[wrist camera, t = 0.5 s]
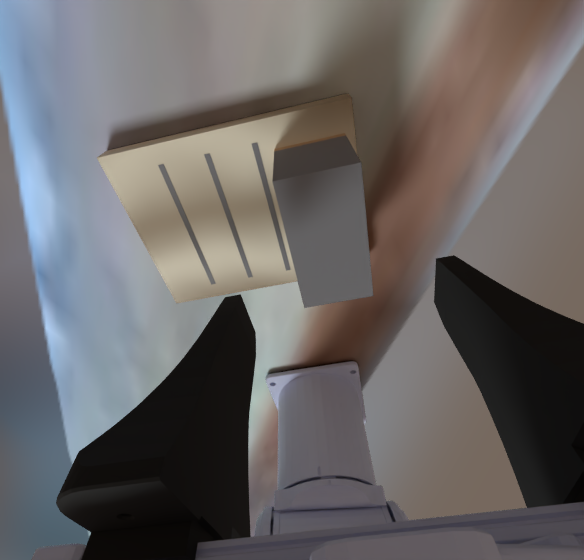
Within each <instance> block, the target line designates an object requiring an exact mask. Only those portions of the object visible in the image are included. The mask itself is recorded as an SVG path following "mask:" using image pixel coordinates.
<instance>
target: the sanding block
mask: <svg viewBox="0 0 584 560" xmlns="http://www.w3.org/2000/svg"><path fill="white" fill-rule="evenodd" d="M272 182H273V186H274V190H275V194H276V198H277V201H278V205H279V209H280V213H281V217H282V221H283V225H284V229H285V233H286V237H287V241H288V245H289V249H290V253H291V257H292V261H293V265H294V268H295V272H296V276H297V280H298V284H299V288H300V292H301V296H302V300H303V304H304V308H307V307H312V306H318V305H324V304H330V303H335V302H341V301H347V300H353V299H358V298H364V297H370V296H373V287H372V276H371V265H370V254H369V243H368V232H367V221H366V210H365V199H364V188H363V176H362V165H361V161H360V159H359V157H358V156H357V154H356V152H355V150H354V149H353V147H352V145H351V143H350V141H349V140H348V138H347V136H346V134H345V133H343V134H339V135H334V136H330V137H326V138H321V139H317V140H312V141H308V142H303V143H299V144H295V145H290V146H286V147H281V148H277V149H274V163H273V180H272Z"/></svg>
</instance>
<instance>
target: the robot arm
mask: <svg viewBox="0 0 584 560" xmlns="http://www.w3.org/2000/svg"><path fill="white" fill-rule="evenodd" d="M434 303H435V305H436V308H437V310H438V312H439V315H440V318H441V320H442V322H443V325H444V327H445V329H446V330H447V332H448V334H449V336H450V337H451V339H452V341H453V343H454V344H455V346H456V348H457V350H458V351H459V353H460V355H461V357H462V358H463V360H464V362H465V363H466V365H467V367H468V369H469V370H470V372H471V374H472V375H473V377H474V379H475V381H476V383H477V385H478V387H479V389H480V391H481V393H482V396H483V398H484V400H485V402H486V405H487V407H488V409H489V411H490V414H491V416H492V418H493V421H494V423H495V426H496V428H497V430H498V433H499V435H500V438H501V440H502V442H503V445H504V448H505V450H506V453H507V455H508V458H509V460H510V463H511V465H512V468H513V470H514V473H515V476H516V479H517V481H518V484H519V487H520V489H521V492H522V495H523V498H524V500H525V503H526V506H527V508H521V509H512V510H502V511H493V512H483V513H474V514H465V515H455V516H445V517H436V518H426V519H417V520H409V519H408V517H407V516H406V514H405V513H404V511H403V510H401V509H400V508H399V506H398V505H397V504H396V503H395V502H394V501H386V499H385V495H384V490H383V487H382V486H377V485H376V481H375V476H374V471H373V466H372V461H371V456H370V451H369V447H368V441H367V436H366V432H365V427H364V424H365V423H366V416H365V409H364V403H363V395H362V389H361V382H360V375H359V368H358V364H357V363H356V362H354V361H350V362H343V363H337V364H331V365H324V366H318V367H311V368H305V369H298V370H292V371H285V372H279V373H273V374H268V375H267V376H266V383H267V385H268V388H269V390H270V393H271V395H272V397H273V400H274V402H275V405H276V407H277V409H278V490H276V491H275V498H274V507H272V506H266V507H265V508H264V510H263V512H262V513H261V514H260V515H259V517H258V518H257V522H256V528H255V536H254V537H250V516H249V482H248V429H249V410H250V401H251V393H252V385H253V376H254V368H255V359H256V336H255V330H254V327H253V325H252V322H251V320H250V317H249V315H248V312H247V310H246V307H245V304H244V302H243V299H242V297H241V295H235V296H230V297H225V298H224V300H223V301H222V303H221V304H220V306H219V307H218V309H217V311H216V312H215V314H214V315H213V317H212V318H211V320H210V321H209V323H208V324H207V326H206V327H205V329H204V330H203V332H202V333H201V335H200V336H199V338H198V339H197V341H196V342H195V343H194V345H193V346H192V347H191V349H190V350H189V351H188V353H187V354H186V355H185V357H184V358H183V359H182V360H181V361H180V363H179V364H178V365H177V366H176V367H175V369H174V370H173V371H172V372H171V373H170V374H169V375H168V376H167V377H166V379H165V380H164V381H163V382H162V383H161V384H160V385H159V386H158V387H157V388H156V389H155V390H154V391H153V392H151V393H150V394H149V395H148V396H147V397H146V398H145V399H144V400H143V401H142V402H141V403H140V404H139V405H138V406H137V407H136V408H134V409H133V410H132V411H131V412H130V413H129V414H127V415H126V416H125V417H124V418H123V419H121V420H120V421H119V422H118V423H117V424H115V425H114V426H113V427H112V428H110V429H109V430H108V431H106V432H105V433H104V434H102V435H101V436H100V437H98V438H97V439H96V440H94V441H93V442H92V443H90V444H89V445H87V446H86V447H85V448H83V449H82V450H80V451H79V453H78V455H77V457H76V459H75V461H74V463H73V465H72V467H71V469H70V471H69V474H68V476H67V478H66V480H65V482H64V484H63V486H62V489H61V491H60V493H59V495H58V497H57V502H56V504H57V506H58V508H59V510H60V512H62V513H63V514H64V515H65V516H67V517H68V518H70V519H71V520H73V521H74V522H76V523H77V524H79V525H81V526H82V527H84V528H85V529H87V530H88V531H90V532H91V535H90V538H89V541H88V543H87V546H86V545H82V544H65V545H56V546H46V547H40V548H38V549H37V550H36V551H35V553H34V556H33V557H32V560H584V324H583V323H580V322H577V321H575V320H573V319H570V318H568V317H565V316H563V315H561V314H558V313H556V312H554V311H552V310H549V309H547V308H545V307H543V306H541V305H539V304H536V303H534V302H532V301H530V300H529V299H527V298H525V297H523V296H521V295H519V294H517V293H515V292H513V291H512V290H509V289H508V288H506V287H504V286H503V285H501V284H499V283H498V282H496V281H494V280H493V279H491V278H489V277H488V276H486V275H484V274H483V273H481V272H480V271H478V270H476V269H475V268H473V267H472V266H470V265H469V264H467V263H465V262H464V261H462V260H461V259H459V258H457V257H456V256H448V257H443V258H437V259H436V274H435V296H434Z"/></svg>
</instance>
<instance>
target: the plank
mask: <svg viewBox="0 0 584 560" xmlns="http://www.w3.org/2000/svg"><path fill="white" fill-rule="evenodd" d="M343 133H345V134H346V136H347V138H348V140H349V141H350V143H351V145H352V147H353V149H354V150H355V152H356V154H357V147H356V136H355V126H354V116H353V105H352V97H351V96H350V95H349V94H348V93H347V94H343V95H339V96H335V97H331V98H326V99H322V100H318V101H314V102H310V103H305V104H301V105H297V106H293V107H289V108H284V109H280V110H276V111H272V112H267V113H263V114H259V115H255V116H251V117H246V118H242V119H238V120H234V121H230V122H225V123H221V124H217V125H213V126H209V127H204V128H200V129H196V130H192V131H188V132H183V133H179V134H175V135H171V136H167V137H162V138H158V139H154V140H150V141H145V142H141V143H137V144H133V145H129V146H124V147H120V148H116V149H112V150H108V151H105V152H104V153H103V154H101V155H100V156H99V157H97V159H98V161H99V163H100V164H101V166H102V168H103V170H104V172H105V174H106V175H107V177H108V179H109V181H110V183H111V185H112V186H113V188H114V190H115V192H116V194H117V196H118V197H119V199H120V201H121V203H122V205H123V206H124V208H125V210H126V212H127V214H128V216H129V217H130V219H131V221H132V223H133V225H134V227H135V228H136V230H137V232H138V234H139V236H140V238H141V239H142V241H143V243H144V245H145V247H146V248H147V250H148V252H149V254H150V256H151V258H152V259H153V261H154V263H155V265H156V267H157V269H158V270H159V272H160V274H161V276H162V278H163V280H164V281H165V283H166V285H167V287H168V289H169V291H170V292H171V294H172V296H173V298H174V300H175V301H176V303H181V302H186V301H192V300H197V299H203V298H208V297H214V296H219V295H225V294H230V293H236V292H241V291H247V290H252V289H258V288H263V287H269V286H274V285H279V284H285V283H290V282H296V281H298V280H297V276H296V272H295V268H294V265H293V261H292V257H291V253H290V249H289V245H288V241H287V237H286V233H285V229H284V225H283V221H282V217H281V213H280V209H279V205H278V201H277V198H276V194H275V190H274V186H273V182H272V180H273V163H274V149H277V148H281V147H286V146H290V145H295V144H299V143H303V142H308V141H312V140H317V139H321V138H326V137H330V136H334V135H339V134H343Z"/></svg>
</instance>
